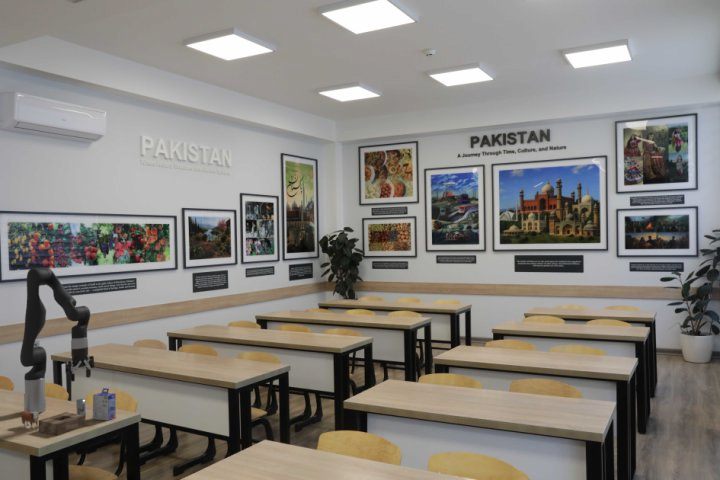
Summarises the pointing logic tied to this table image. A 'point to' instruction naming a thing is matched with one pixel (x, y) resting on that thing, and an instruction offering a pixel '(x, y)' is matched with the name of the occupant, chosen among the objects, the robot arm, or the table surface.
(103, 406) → the ink cartridge box
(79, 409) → the peg
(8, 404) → the table surface
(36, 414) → the bull figurine
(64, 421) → the docking block
